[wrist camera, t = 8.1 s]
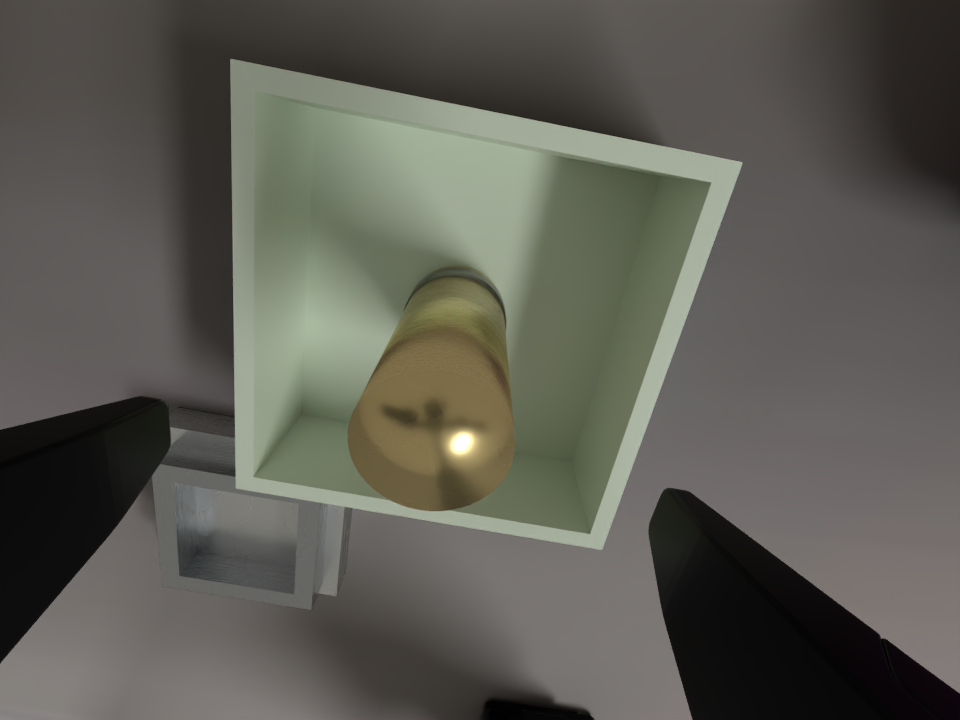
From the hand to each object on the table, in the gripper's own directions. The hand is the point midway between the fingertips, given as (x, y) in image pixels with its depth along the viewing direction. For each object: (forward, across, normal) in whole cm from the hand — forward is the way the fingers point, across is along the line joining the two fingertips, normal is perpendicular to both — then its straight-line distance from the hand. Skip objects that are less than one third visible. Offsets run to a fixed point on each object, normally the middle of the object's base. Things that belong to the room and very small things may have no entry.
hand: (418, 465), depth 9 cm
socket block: (+11, +7, +11) cm, 18 cm away
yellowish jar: (+11, 0, 0) cm, 11 cm away
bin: (+11, 0, 0) cm, 11 cm away
